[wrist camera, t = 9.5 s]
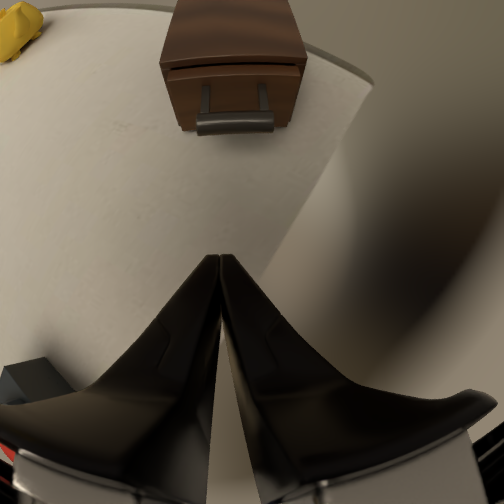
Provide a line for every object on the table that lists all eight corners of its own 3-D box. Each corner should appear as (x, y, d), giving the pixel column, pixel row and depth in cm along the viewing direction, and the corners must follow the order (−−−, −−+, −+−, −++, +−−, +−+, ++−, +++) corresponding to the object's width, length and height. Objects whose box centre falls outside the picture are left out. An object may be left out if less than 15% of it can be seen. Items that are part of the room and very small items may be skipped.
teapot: (29, 28, 29) (10, -3, 16) (67, 22, 28) (47, -19, 15) (-10, 69, 26) (-34, 40, 14) (17, 71, 26) (-13, 31, 13)
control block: (118, 429, 19) (78, 470, 11) (92, 464, 18) (56, 501, 10) (44, 356, 19) (-11, 368, 11) (26, 397, 18) (-21, 414, 10)
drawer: (292, 168, 22) (311, 121, 16) (179, 172, 22) (159, 127, 15) (273, 47, 25) (279, 2, 18) (191, 50, 25) (184, 5, 18)
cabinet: (290, 121, 24) (308, 57, 16) (178, 126, 24) (158, 63, 15) (275, 42, 26) (283, -12, 18) (189, 45, 26) (180, -8, 17)
